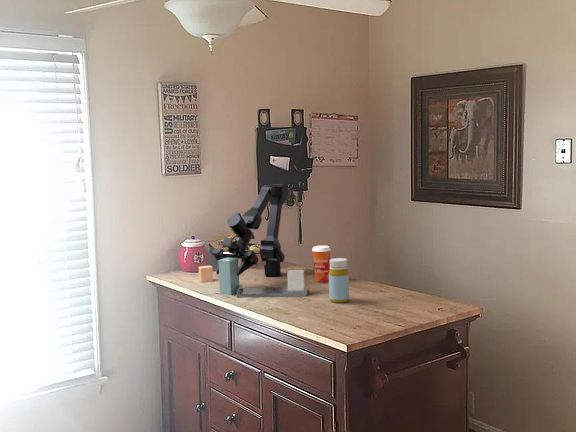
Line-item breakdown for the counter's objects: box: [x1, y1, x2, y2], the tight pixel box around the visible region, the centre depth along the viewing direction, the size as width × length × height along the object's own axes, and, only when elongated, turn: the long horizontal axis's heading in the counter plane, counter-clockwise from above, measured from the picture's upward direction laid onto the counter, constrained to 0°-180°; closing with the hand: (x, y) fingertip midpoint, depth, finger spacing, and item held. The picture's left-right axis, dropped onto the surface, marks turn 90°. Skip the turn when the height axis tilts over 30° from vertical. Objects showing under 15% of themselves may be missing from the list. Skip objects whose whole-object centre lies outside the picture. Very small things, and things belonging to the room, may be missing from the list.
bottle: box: [328, 257, 350, 304], centre depth 246 cm, size 7×7×15 cm
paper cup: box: [311, 245, 332, 283], centre depth 279 cm, size 8×8×14 cm
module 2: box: [218, 258, 240, 296], centre depth 265 cm, size 6×5×13 cm
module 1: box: [198, 265, 214, 284], centre depth 287 cm, size 5×4×6 cm
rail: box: [236, 269, 308, 298], centre depth 261 cm, size 26×10×8 cm, turn 87°
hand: (227, 274), depth 263 cm, fingers open, 9 cm apart
